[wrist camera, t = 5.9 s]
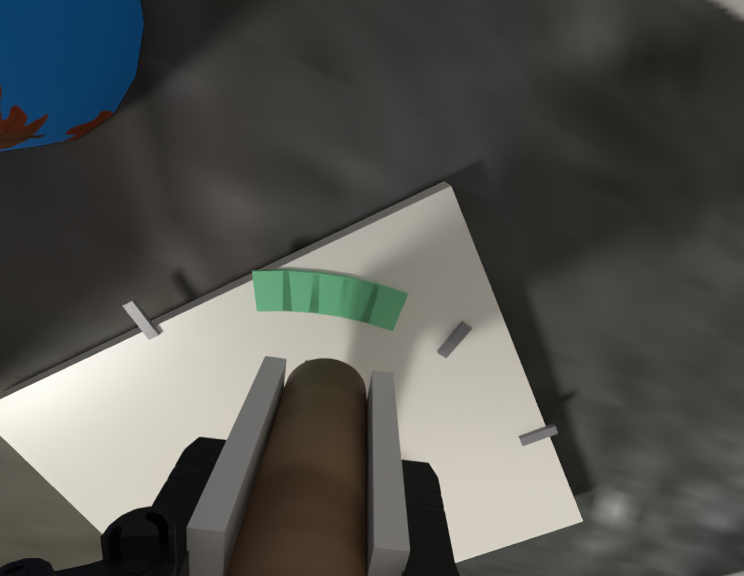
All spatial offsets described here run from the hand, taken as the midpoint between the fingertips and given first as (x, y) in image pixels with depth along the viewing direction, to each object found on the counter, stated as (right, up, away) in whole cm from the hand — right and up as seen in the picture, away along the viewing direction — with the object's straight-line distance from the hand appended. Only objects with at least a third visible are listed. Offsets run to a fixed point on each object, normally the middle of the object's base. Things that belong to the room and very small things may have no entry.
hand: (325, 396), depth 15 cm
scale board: (-2, -5, +7) cm, 9 cm away
